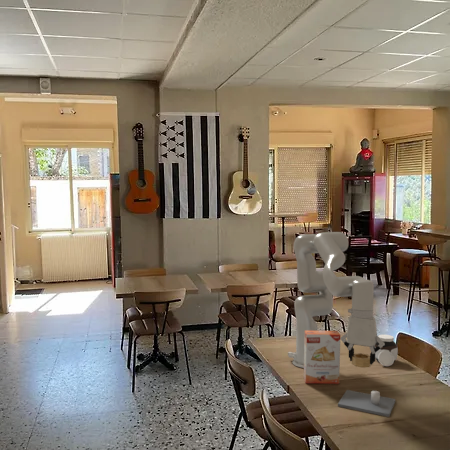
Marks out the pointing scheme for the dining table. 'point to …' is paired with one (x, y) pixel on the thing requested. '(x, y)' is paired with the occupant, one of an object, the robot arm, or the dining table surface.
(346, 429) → the dining table surface
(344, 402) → the base
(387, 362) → the spread jar
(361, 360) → the ring
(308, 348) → the cracker box
